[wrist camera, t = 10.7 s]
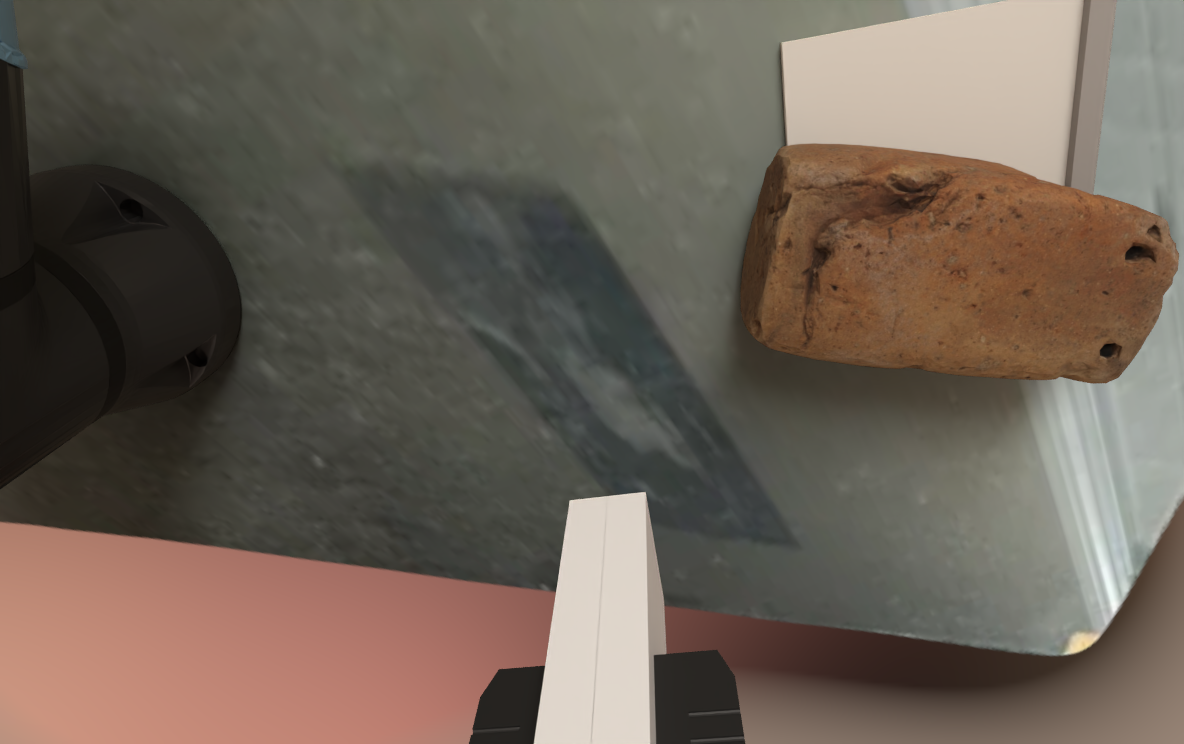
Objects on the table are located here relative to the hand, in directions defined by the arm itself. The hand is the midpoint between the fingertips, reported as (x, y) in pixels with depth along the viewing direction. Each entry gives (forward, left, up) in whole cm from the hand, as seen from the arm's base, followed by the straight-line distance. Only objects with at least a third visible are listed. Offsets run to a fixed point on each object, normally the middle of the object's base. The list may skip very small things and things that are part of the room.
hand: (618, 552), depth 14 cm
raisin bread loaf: (+6, -1, -26) cm, 27 cm away
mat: (+17, 0, -30) cm, 35 cm away
